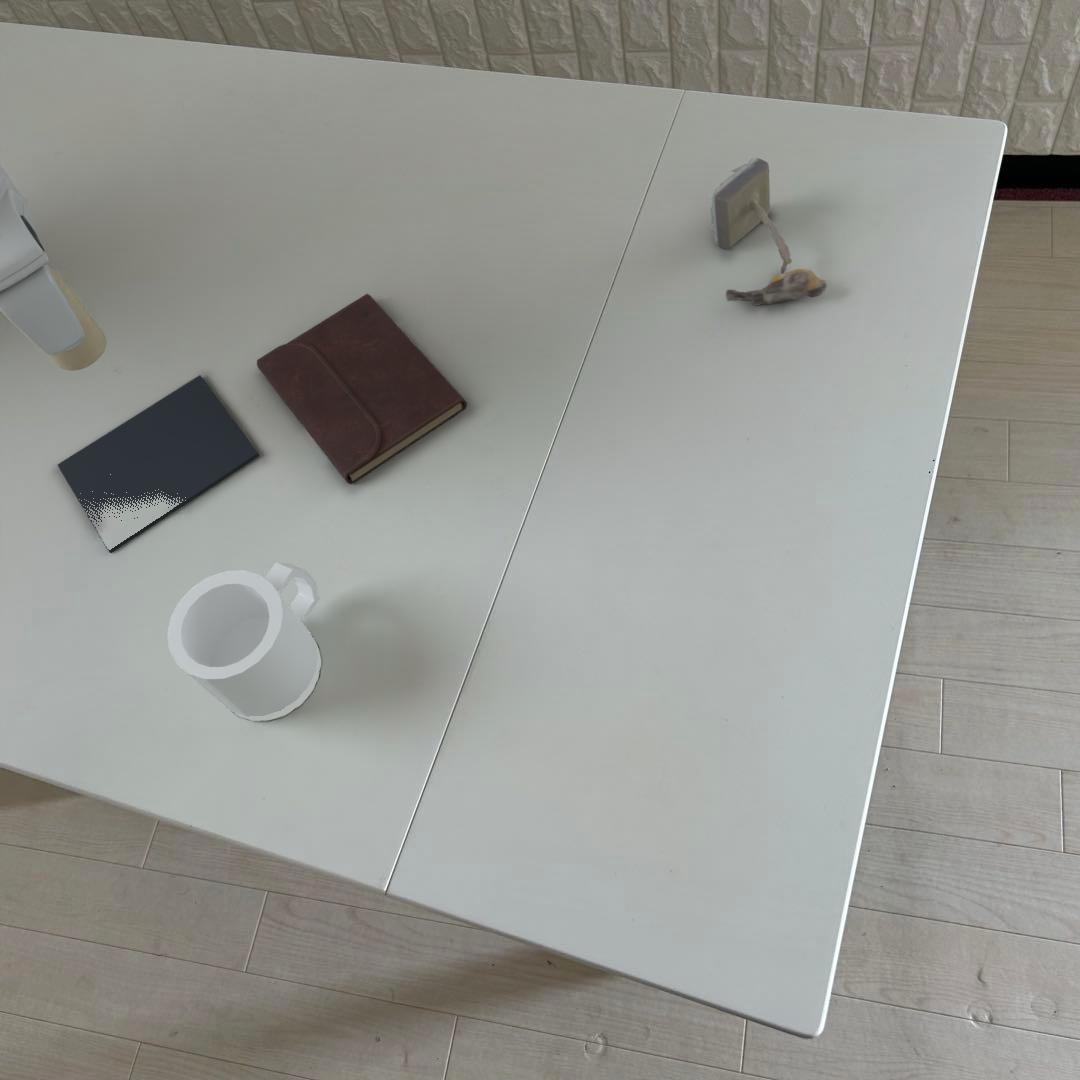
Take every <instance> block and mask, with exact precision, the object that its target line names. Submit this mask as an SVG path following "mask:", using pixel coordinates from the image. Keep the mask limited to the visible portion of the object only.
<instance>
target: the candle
mask: <svg viewBox="0 0 1080 1080" xmlns="http://www.w3.org/2000/svg"><path fill="white" fill-rule="evenodd" d="M48 269H49V270H50V272H51V274H52V276H53V278H54V279H55V281H56V283H57V285H58V286H59V288H60V290H61V291H62V293H63V295H64V296H65V298H66V300H67V301H68V303H69V305H70V306H71V308H72V310H73V312H74V313H75V315H76V317H77V318H78V320H79V322H80V324H81V326H82V328H83V331H84V335H85V336H84V338H83V339H82V340H81V342H80V344H79V345H77V346H76V347H74V348H73V349H71V350H69V351H64V352H62V353H60V354H58V355H56V356H51V355H48V354H46V355H47V356H48V357H49V358H50V359H51V361H52V362H53V364H55V365H56V366H57V367H59V368H60V369H62V370H65V371H70V372H71V371H72V372H75V371H81V370H83V369H86V368H89V367H90V366H91V365H93V364H95V363H96V362H97V361H98V360H99V359H100V358H101V357H102V355H103V354H104V353H105V351H106V347H107V337H106V335H105V333H104V331H103V330H102V329H101V327H100V326H99V324H98V322H96V321H95V318H93V316H92V315H91V314H90V312H89V311H88V310H87V308H86V307H85V306H84V305H83V304H82V302H81V301H80V299H79V298H78V297H77V296H76V294H75V293H74V291H73V290H72V289H71V287H70V286H69V285H68V284H67V282H66V281H65V279H64V278H63V276H61V275H60V273H59V272H58V271H57V270H55V269H53V268H51V267H48Z"/></svg>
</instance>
